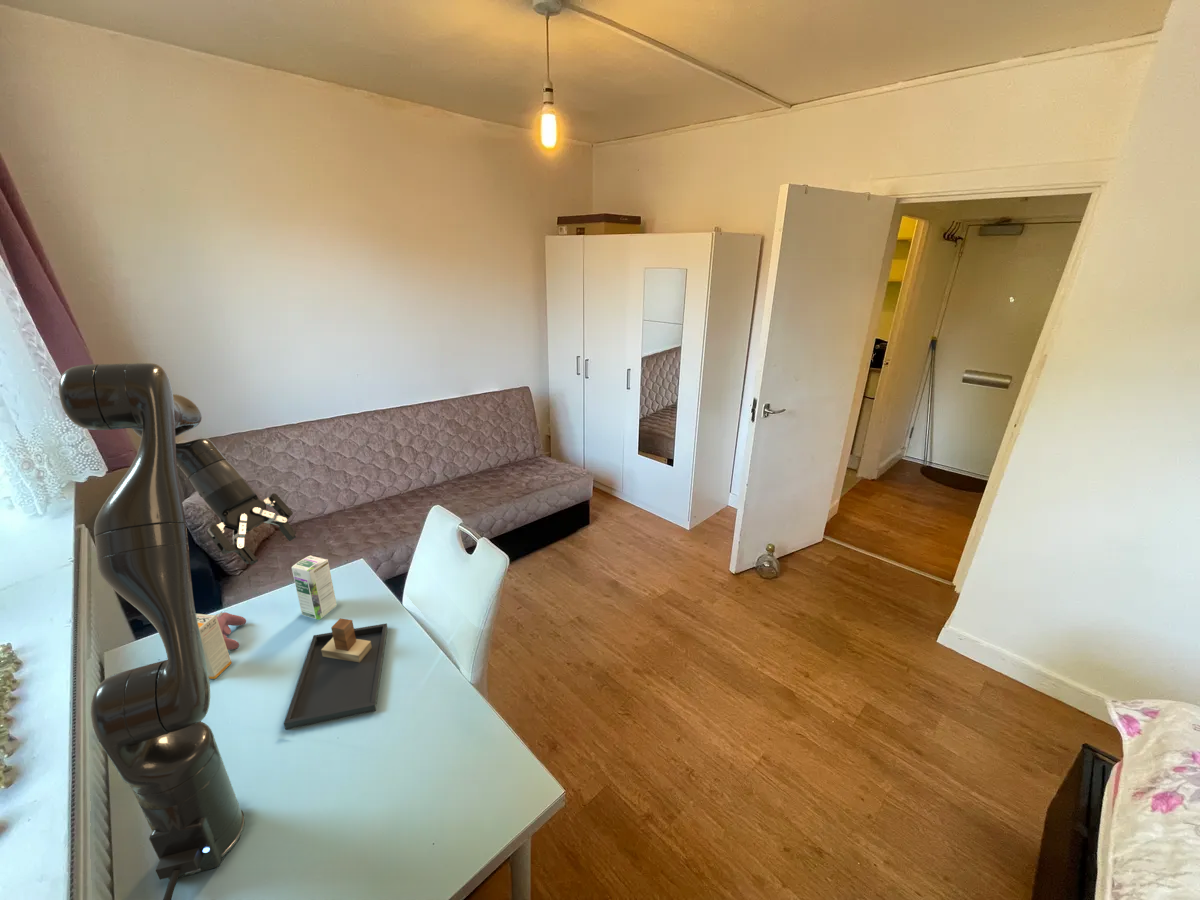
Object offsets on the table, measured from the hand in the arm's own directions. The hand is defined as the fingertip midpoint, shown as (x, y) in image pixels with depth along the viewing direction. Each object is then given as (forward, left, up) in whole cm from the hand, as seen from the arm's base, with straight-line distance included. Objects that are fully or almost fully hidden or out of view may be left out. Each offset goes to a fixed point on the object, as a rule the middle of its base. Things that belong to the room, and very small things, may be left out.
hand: (274, 550), depth 102 cm
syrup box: (+12, -2, -26) cm, 28 cm away
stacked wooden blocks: (-5, -11, -25) cm, 28 cm away
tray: (-11, -11, -26) cm, 30 cm away
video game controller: (+7, +16, -26) cm, 31 cm away
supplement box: (-2, +17, -26) cm, 31 cm away
